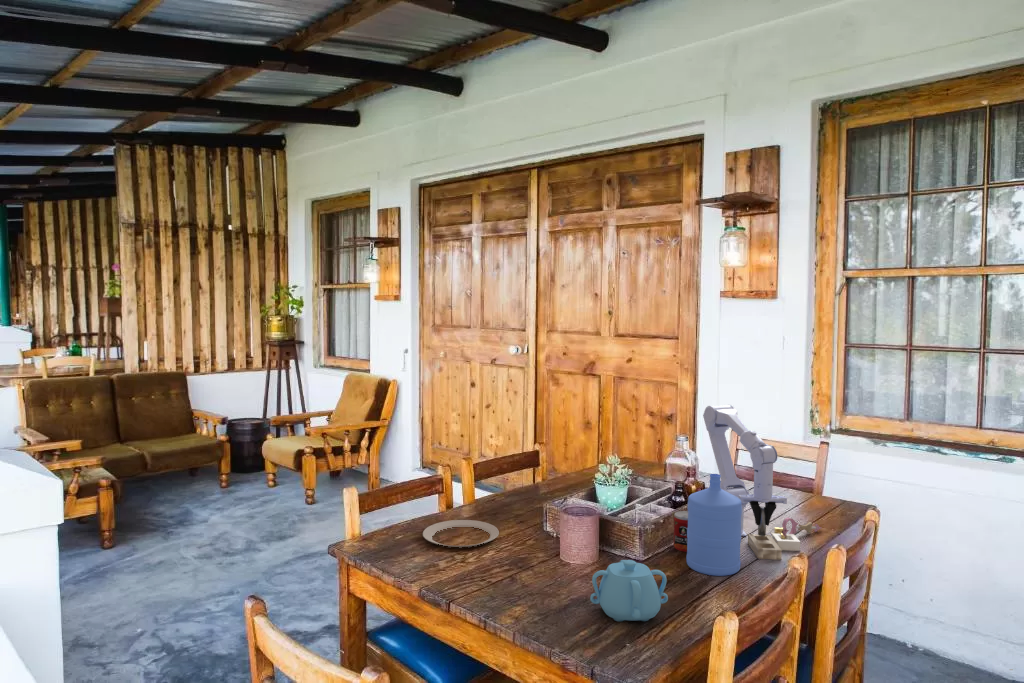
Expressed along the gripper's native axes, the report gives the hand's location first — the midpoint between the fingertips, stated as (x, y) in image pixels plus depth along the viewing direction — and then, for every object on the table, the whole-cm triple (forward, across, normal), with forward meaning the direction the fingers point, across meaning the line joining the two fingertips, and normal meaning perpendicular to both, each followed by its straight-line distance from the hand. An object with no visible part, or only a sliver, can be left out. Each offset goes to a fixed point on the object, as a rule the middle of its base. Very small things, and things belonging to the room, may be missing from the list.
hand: (762, 524), depth 225 cm
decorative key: (+8, +17, +14) cm, 23 cm away
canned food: (+8, -24, -4) cm, 26 cm away
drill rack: (+8, 0, -3) cm, 8 cm away
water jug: (+8, -18, -18) cm, 27 cm away
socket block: (+7, +8, +6) cm, 12 cm away
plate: (+8, -98, -2) cm, 99 cm away
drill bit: (+3, 0, 0) cm, 3 cm away
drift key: (+7, +8, +7) cm, 13 cm away
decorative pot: (+8, -46, -52) cm, 70 cm away
